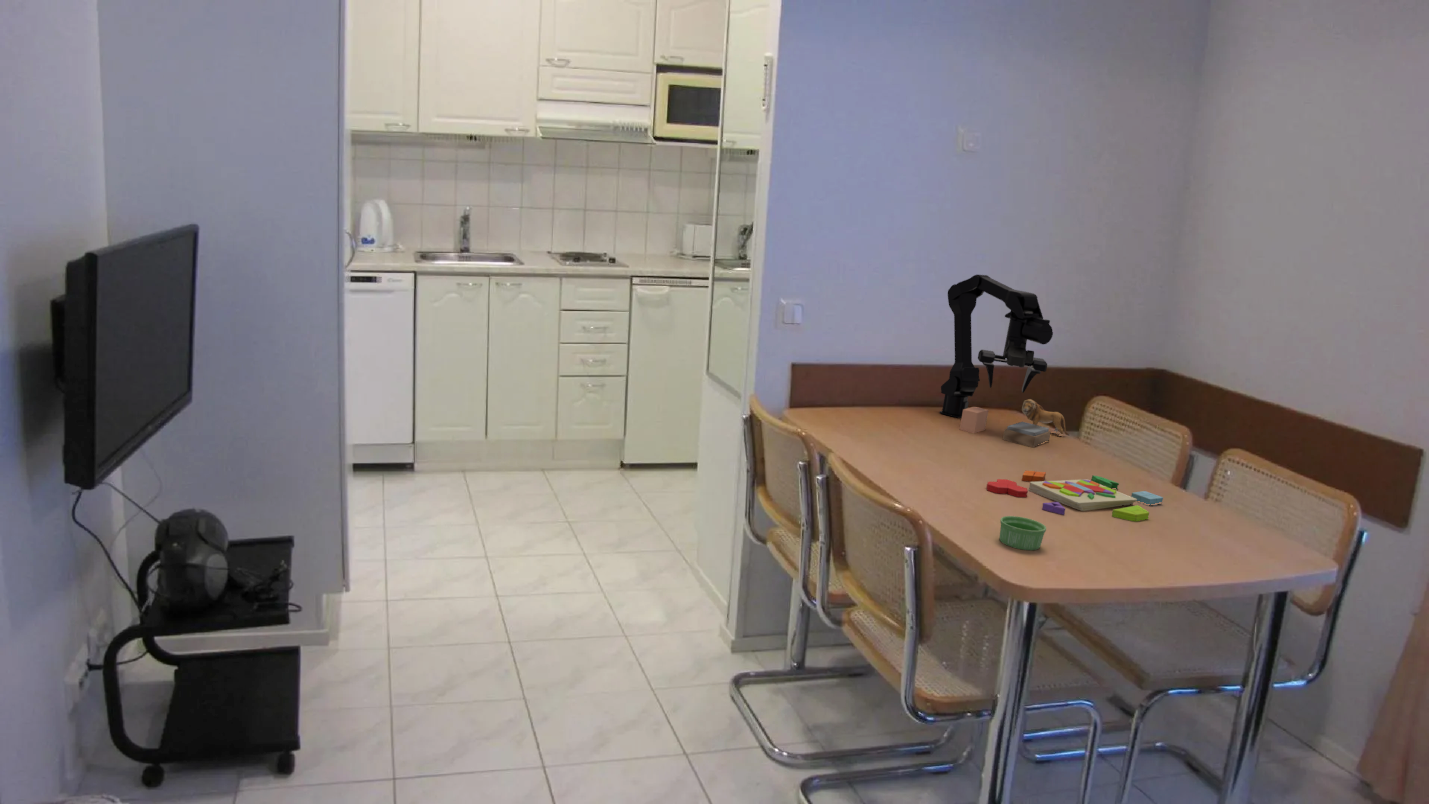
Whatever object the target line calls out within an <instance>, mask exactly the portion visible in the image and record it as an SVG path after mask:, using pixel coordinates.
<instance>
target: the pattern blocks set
mask: <svg viewBox="0 0 1429 804" xmlns="http://www.w3.org/2000/svg"><path fill="white" fill-rule="evenodd" d="M1046 475H1047V474H1046V471H1045V472H1044V471H1037V470H1036V471H1035V470H1025V471H1024V472H1023V474H1022V478H1021V482H1028V483H1029V487H1024V486H1020V485H1018V484H1017V481H1014V480H1010V479H1006V478H1005V479H1000V478H998V479H996V481H987V484H986V490H987V491H988V492H990V493H994V494H998V495H999V494H1000V495H1006V494H1007V495H1010V496H1011V497H1015V498H1028V492H1031V493H1034V494H1036V495H1038V496H1041V497H1044V498H1047V499H1049V500H1052V501H1053V502H1052V501H1051V502H1043V503H1042V507H1041V510H1043V511H1046V512H1050V513H1055V514H1058V515H1061V516H1065V512H1066V507H1064V506H1067V507H1070V508H1073V509H1074V510H1078V511H1081V512H1087V511H1088V512H1089V511H1095V510H1102V509H1109V508H1114V509H1112V512H1111V517H1112V518H1117V519H1122V520H1126V521H1130V522H1135V523H1136V522H1141V521H1140V520H1142V521H1146V520H1145V519H1147V520H1148V519H1149V516H1150V512H1149V511H1148V510H1146V509H1145V508H1143V507H1141V506H1140V505H1134V503H1136V501H1140V502H1144V503H1146V504H1150V505H1151V504H1155V503H1159V502H1162V503H1163V500H1164V497H1163V496H1160V495H1157V494H1155V493H1151V492H1149V491H1146V490H1143V491H1136V492H1134V491H1133V492H1131V496H1130V495H1127V494H1125V493H1123V492H1120V491H1118V490H1116V489H1118V486H1119V485H1120V483H1119V482H1116V481H1114V480H1111V479H1108V478H1105V477H1102V476H1098V475H1091V478H1090V479H1091V480H1090V479H1087V478H1086V479H1067V480H1066V479H1063V480H1045V479H1046ZM1111 488H1116V489H1111ZM1130 504H1131V505H1130ZM1063 505H1064V506H1063ZM1122 505H1124V506H1127V507H1122ZM1129 505H1130V506H1129ZM1115 507H1121V508H1116V509H1115Z"/></svg>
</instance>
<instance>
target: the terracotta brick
mask: <svg viewBox="0 0 1429 804" xmlns="http://www.w3.org/2000/svg"><path fill="white" fill-rule="evenodd" d="M988 416H989V409H986V408H983V407H982V408H981V407H979V406H971V407H968V408H967V409H963V413H962V417H961V419H960V424H959V425H960V426H959V430H961V431H964V432H968V433H972V434H975V433H979V432H982V431H985V430H986V427H987V426H986V425H987V420H988Z"/></svg>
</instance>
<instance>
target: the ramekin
mask: <svg viewBox="0 0 1429 804" xmlns="http://www.w3.org/2000/svg"><path fill="white" fill-rule="evenodd" d="M999 520H1000V522H999V523H1000V529H999V531H1000V532H999V541H1000V542H1001V543H1002V544H1004V545H1006V546H1008V547H1011V548H1014V549H1018V550H1023V551H1036V550H1038V549H1040V547H1041V546H1042V542H1043V539H1044V536H1045V533H1046V531H1047V526H1046V525H1045V524H1044V523H1042V522H1040V521H1037V520H1035V519H1032V518H1028V517H1023V516H1014V515H1007V516H1002V517H1001V518H1000V519H999Z"/></svg>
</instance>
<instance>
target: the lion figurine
mask: <svg viewBox="0 0 1429 804" xmlns="http://www.w3.org/2000/svg"><path fill="white" fill-rule="evenodd" d="M1021 411H1022V414H1023V415H1025V417H1026V418H1027V419H1028V420H1029V421H1032V424H1034V425H1038V423H1042V424H1049V423H1053V425H1054V427H1055V429H1054V430H1053V431H1056V433H1057V432H1058V431H1059V432H1060V433H1061V434H1063V435H1064V434H1065V435H1066V436H1070V434H1069V432H1067V429H1066V421H1065V417H1064V415H1063V414H1062V413H1060V412H1059V411H1048V410H1046V409H1044V408H1043V406H1042V405H1040V404H1038V402H1036V400H1033V399H1031V398H1029V399H1026V400H1024V401H1023V403H1022V407H1021ZM1062 426H1063V427H1062ZM1060 433H1059V434H1060Z"/></svg>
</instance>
